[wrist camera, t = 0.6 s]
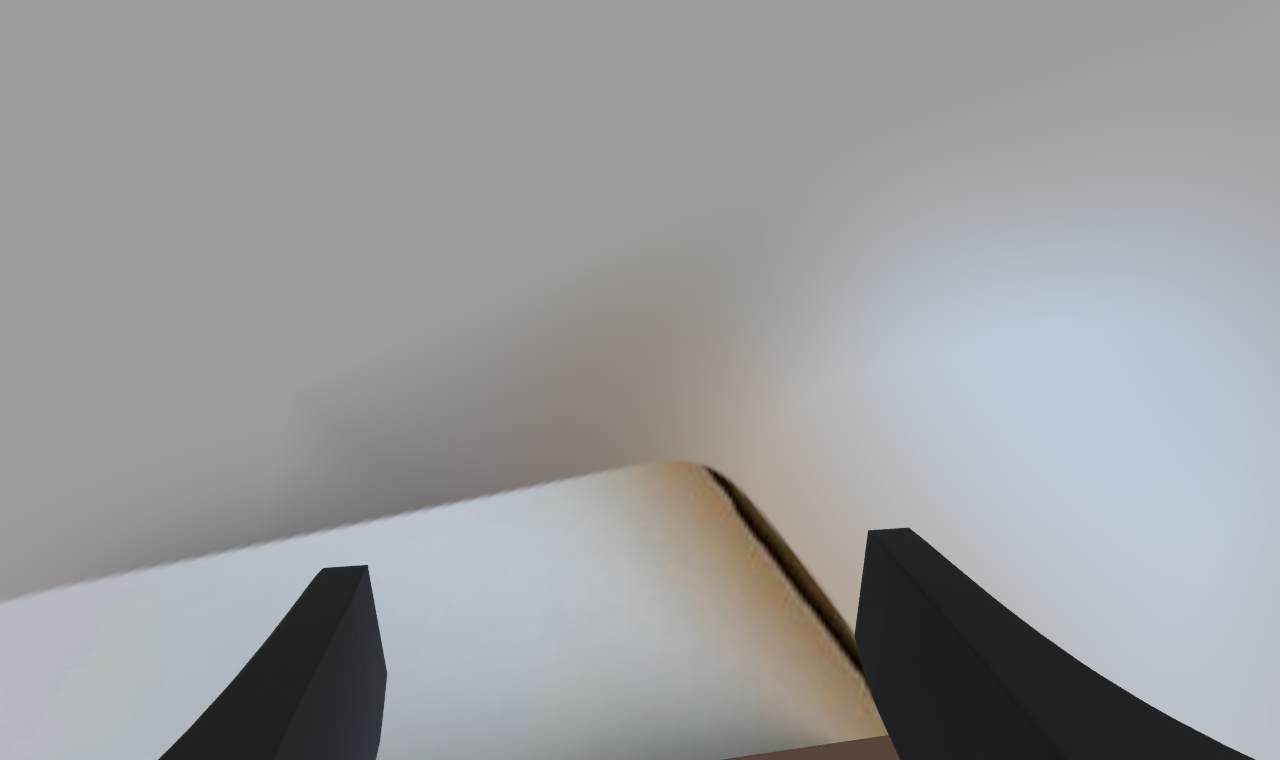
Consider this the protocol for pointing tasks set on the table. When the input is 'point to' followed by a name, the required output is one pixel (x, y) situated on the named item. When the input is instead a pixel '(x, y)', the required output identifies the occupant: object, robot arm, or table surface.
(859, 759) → the plate
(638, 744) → the table surface
